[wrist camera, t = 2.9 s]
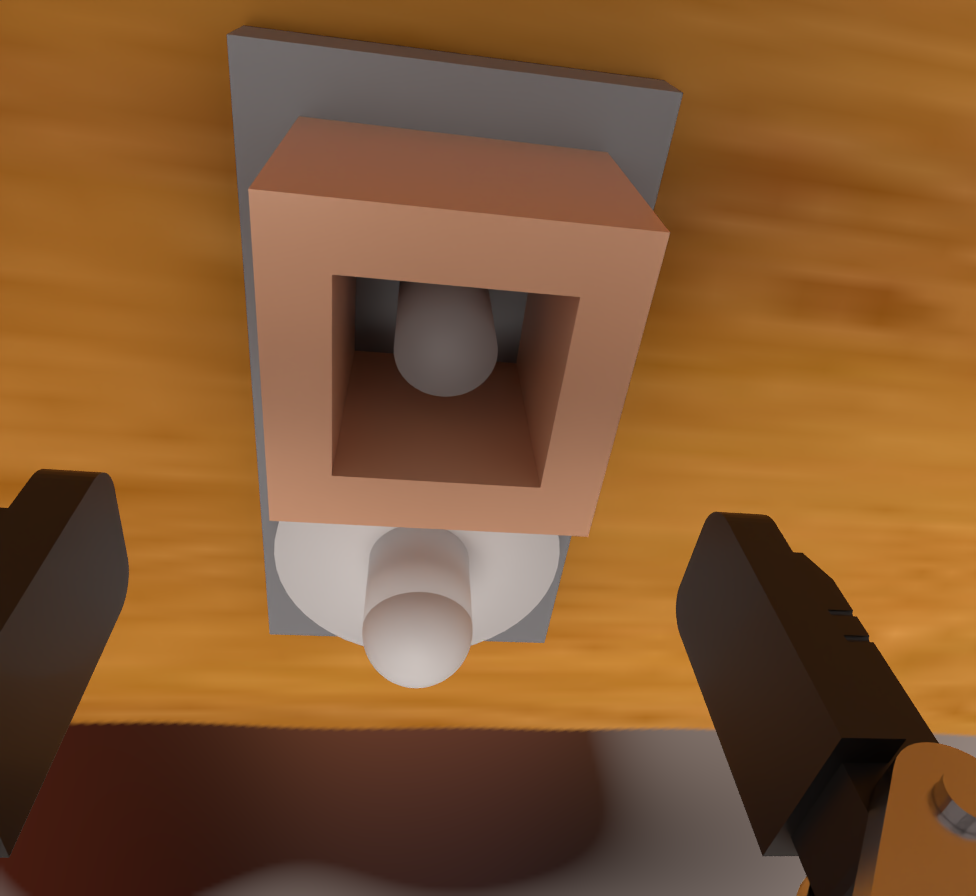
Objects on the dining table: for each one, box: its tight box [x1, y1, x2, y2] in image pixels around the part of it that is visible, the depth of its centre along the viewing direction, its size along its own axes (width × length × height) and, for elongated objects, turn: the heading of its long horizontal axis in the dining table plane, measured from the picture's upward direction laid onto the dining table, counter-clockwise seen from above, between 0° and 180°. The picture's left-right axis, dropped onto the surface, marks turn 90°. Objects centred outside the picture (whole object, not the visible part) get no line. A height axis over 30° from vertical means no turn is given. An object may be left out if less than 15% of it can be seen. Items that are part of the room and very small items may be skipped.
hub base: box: [227, 26, 683, 688], centre depth 18 cm, size 17×9×6 cm, turn 173°
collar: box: [248, 116, 670, 537], centre depth 15 cm, size 6×6×5 cm
